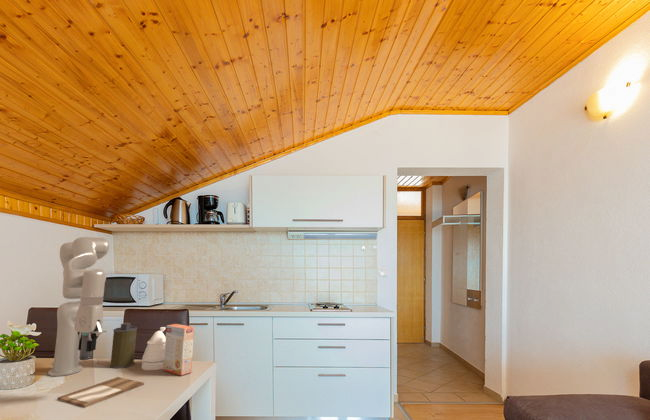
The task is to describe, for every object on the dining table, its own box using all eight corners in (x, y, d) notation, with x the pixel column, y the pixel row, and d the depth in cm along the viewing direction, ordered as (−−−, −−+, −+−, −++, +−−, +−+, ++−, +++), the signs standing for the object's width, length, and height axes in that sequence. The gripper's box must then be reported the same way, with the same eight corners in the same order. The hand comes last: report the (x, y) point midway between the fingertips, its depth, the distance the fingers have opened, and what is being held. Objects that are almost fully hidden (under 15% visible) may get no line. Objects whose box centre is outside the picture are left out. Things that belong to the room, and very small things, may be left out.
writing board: (57, 399, 127) (57, 396, 127) (117, 378, 149) (118, 376, 149) (84, 407, 121) (85, 404, 121) (143, 384, 143) (143, 382, 143)
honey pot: (162, 360, 176) (165, 324, 179) (175, 365, 168) (177, 327, 171) (136, 366, 166) (140, 328, 169) (148, 372, 158) (151, 332, 161)
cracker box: (192, 372, 158) (195, 326, 161) (180, 376, 153) (183, 328, 156) (174, 367, 165) (177, 322, 168) (162, 370, 160) (165, 324, 163)
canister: (126, 368, 163) (130, 325, 165) (104, 368, 163) (109, 325, 165) (139, 361, 173) (142, 321, 176) (118, 361, 173) (122, 320, 176)
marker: (76, 359, 130) (80, 327, 132) (87, 356, 134) (91, 325, 136) (84, 360, 129) (87, 327, 130) (95, 357, 133) (98, 325, 134)
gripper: (68, 301, 134) (62, 350, 132) (96, 304, 128) (91, 355, 125) (87, 299, 141) (82, 345, 138) (115, 301, 135) (110, 350, 132)
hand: (86, 349), depth 132 cm, fingers closed on marker, 4 cm apart
